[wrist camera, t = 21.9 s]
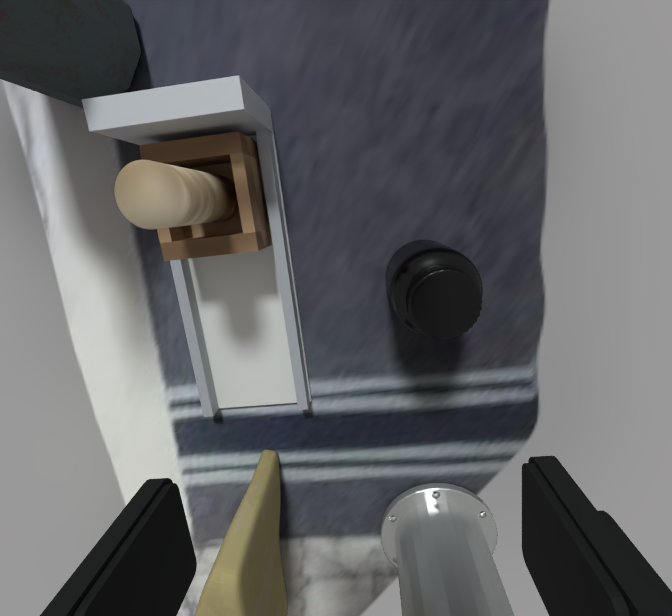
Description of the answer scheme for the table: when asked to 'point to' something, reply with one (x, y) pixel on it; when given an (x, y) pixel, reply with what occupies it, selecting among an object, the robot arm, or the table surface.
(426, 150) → the table surface
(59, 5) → the bottle
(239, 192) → the brown wooden open box
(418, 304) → the supplement bottle
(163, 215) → the dowel
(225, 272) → the track
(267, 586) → the cheese
